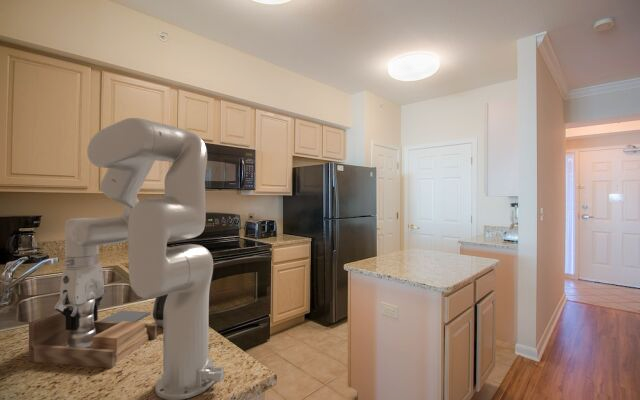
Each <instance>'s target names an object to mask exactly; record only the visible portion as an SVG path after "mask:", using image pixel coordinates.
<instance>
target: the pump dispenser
mask: <svg viewBox="0 0 640 400" xmlns="http://www.w3.org/2000/svg"><path fill="white" fill-rule="evenodd" d="M167 296H168V294H166V295H163V296H160V297H156V298H154V299H155V300H154V303H153V307H152V308H153V309H152V318H153V321H154V324H157V327H160V328H163V311H164V305H165V301H166V298H167Z"/></svg>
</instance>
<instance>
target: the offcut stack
mask: <svg viewBox="0 0 640 400" xmlns="http://www.w3.org/2000/svg"><path fill="white" fill-rule="evenodd" d="M145 324H146V323H145V322H144V321H137V322H131V321H122V322H120V323H118V324H116V325H115V326H113V327H111V328H109V329H107V330H105V331H103V332H101V333H99V334H97V335H95V336H93V343H91V346H90V348H95V349H109V350H115V363H118V362H119V361H121V360H122V359H124V358H125V357H127V356H128V355H130V354H131V353H133V352H134V351H135V350H137V349H139V348H140V347H142V346H143V345H145V344H146V343H147V342H149V339H148V334H147V328H145Z"/></svg>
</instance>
